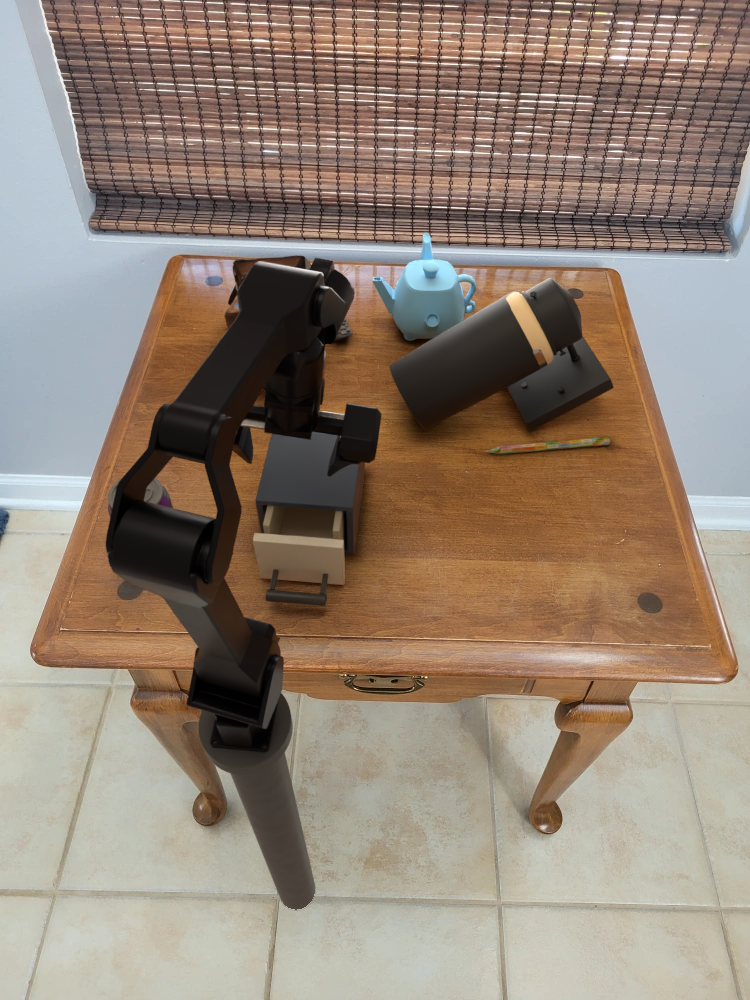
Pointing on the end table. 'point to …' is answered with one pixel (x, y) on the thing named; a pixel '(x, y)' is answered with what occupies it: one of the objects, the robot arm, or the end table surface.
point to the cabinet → (310, 480)
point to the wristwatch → (344, 331)
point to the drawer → (301, 551)
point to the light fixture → (506, 360)
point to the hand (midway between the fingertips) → (290, 466)
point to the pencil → (550, 445)
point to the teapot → (427, 296)
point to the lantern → (243, 267)
